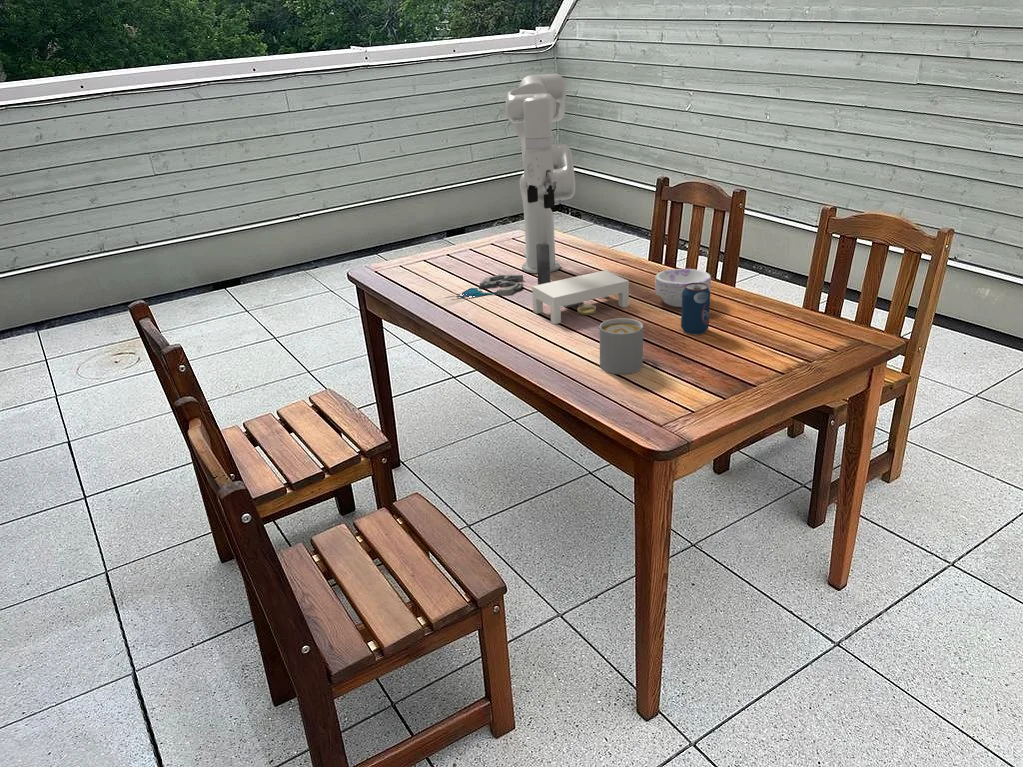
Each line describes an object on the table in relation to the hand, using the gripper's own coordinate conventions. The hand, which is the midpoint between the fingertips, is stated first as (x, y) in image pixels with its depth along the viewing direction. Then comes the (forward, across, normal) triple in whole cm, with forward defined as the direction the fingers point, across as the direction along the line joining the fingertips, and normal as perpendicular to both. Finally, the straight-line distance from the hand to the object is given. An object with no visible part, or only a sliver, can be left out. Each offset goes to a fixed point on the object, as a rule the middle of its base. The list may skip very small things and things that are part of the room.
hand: (541, 204), depth 223 cm
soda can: (+26, +52, +15) cm, 60 cm away
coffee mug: (+26, +59, -11) cm, 65 cm away
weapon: (+26, -10, -18) cm, 34 cm away
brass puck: (+26, +24, 0) cm, 35 cm away
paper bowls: (+26, +33, +26) cm, 49 cm away
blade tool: (+26, +8, 0) cm, 27 cm away
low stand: (+26, +21, 0) cm, 33 cm away
